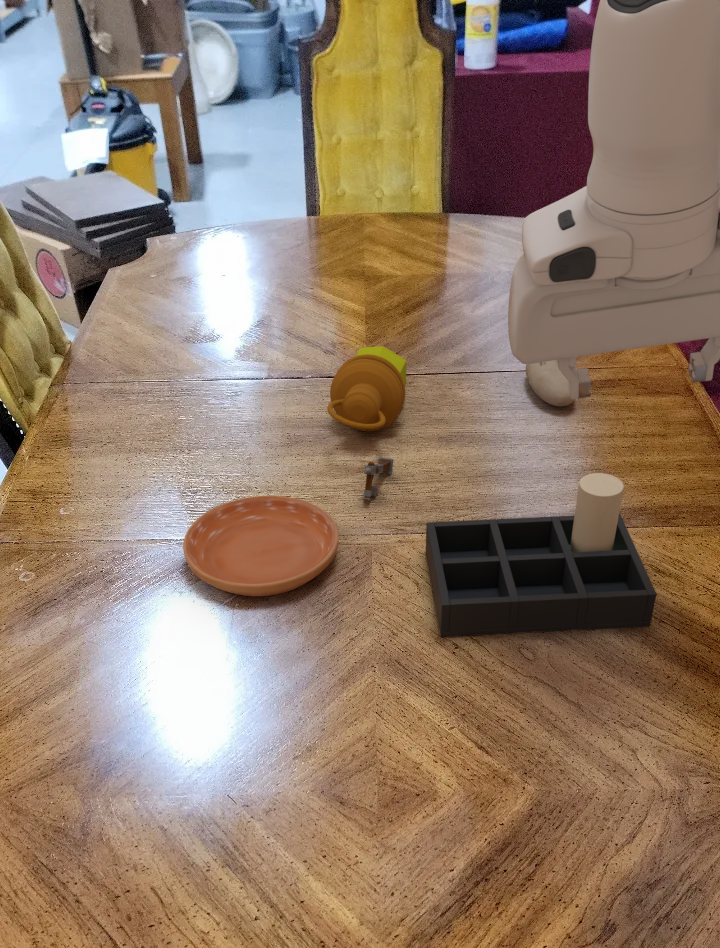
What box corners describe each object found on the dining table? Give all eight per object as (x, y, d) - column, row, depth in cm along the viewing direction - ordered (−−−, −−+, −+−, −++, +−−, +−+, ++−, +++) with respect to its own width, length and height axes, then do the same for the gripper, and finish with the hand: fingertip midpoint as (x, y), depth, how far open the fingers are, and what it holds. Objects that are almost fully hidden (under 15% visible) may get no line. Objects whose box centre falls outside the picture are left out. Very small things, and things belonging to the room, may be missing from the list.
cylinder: (604, 547, 103) (617, 471, 97) (614, 571, 99) (628, 494, 94) (564, 549, 103) (575, 473, 97) (573, 573, 99) (584, 497, 93)
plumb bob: (345, 379, 136) (306, 450, 115) (360, 315, 131) (322, 377, 110) (408, 398, 136) (380, 472, 115) (426, 334, 131) (400, 400, 110)
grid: (614, 544, 104) (620, 513, 102) (650, 626, 94) (657, 594, 92) (425, 553, 104) (426, 522, 101) (440, 637, 94) (441, 605, 91)
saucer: (228, 627, 95) (225, 603, 93) (162, 547, 106) (157, 524, 104) (368, 572, 101) (368, 548, 100) (293, 502, 112) (291, 479, 110)
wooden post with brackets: (356, 502, 110) (360, 461, 108) (374, 493, 117) (378, 455, 116) (371, 505, 109) (376, 464, 108) (389, 495, 117) (393, 457, 115)
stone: (545, 401, 123) (510, 338, 129) (550, 433, 128) (516, 371, 135) (589, 382, 123) (552, 320, 129) (592, 415, 128) (556, 354, 134)
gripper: (793, 175, 69) (762, 343, 80) (500, 222, 72) (508, 379, 82) (821, 221, 65) (785, 391, 76) (510, 269, 68) (517, 427, 78)
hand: (639, 385), depth 79 cm, fingers open, 8 cm apart
